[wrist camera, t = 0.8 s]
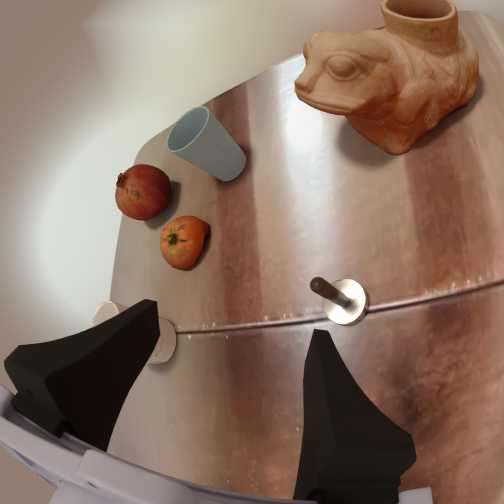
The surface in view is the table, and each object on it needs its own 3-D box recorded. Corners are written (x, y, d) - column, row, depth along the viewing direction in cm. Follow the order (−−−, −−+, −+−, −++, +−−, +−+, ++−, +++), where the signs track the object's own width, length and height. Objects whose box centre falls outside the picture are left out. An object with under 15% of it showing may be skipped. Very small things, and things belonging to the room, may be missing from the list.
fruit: (190, 190, 48) (145, 161, 41) (157, 239, 49) (110, 216, 42) (166, 171, 55) (127, 146, 47) (138, 213, 56) (97, 192, 48)
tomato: (162, 278, 43) (141, 235, 40) (182, 256, 49) (164, 217, 46) (207, 270, 40) (186, 221, 37) (224, 247, 46) (207, 204, 43)
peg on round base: (376, 310, 27) (354, 292, 20) (338, 333, 28) (302, 324, 21) (356, 274, 29) (326, 243, 22) (320, 296, 30) (279, 274, 23)
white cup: (148, 371, 41) (91, 365, 33) (143, 323, 45) (90, 310, 37) (183, 361, 38) (122, 355, 30) (176, 308, 42) (118, 292, 34)
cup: (262, 159, 42) (217, 116, 33) (224, 197, 43) (174, 161, 35) (239, 139, 46) (197, 100, 38) (206, 172, 48) (161, 138, 40)
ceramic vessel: (308, 130, 39) (249, 52, 27) (429, 44, 31) (403, -35, 19) (369, 192, 31) (319, 96, 19) (499, 85, 23) (492, -9, 12)
